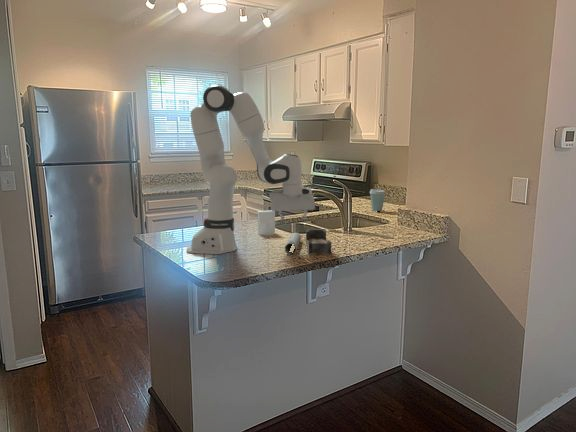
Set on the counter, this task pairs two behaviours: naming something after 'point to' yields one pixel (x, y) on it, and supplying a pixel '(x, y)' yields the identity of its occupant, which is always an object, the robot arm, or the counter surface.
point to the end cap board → (317, 242)
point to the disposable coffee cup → (377, 199)
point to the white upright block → (266, 222)
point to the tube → (294, 240)
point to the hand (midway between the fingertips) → (293, 219)
